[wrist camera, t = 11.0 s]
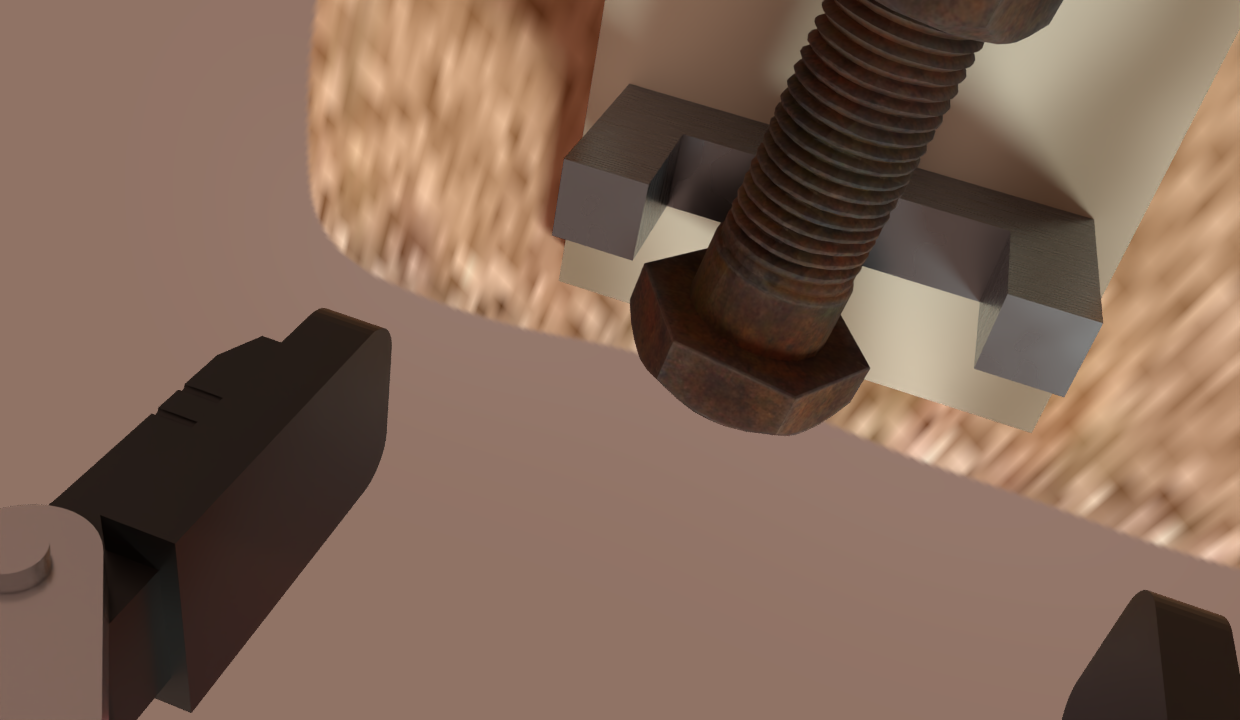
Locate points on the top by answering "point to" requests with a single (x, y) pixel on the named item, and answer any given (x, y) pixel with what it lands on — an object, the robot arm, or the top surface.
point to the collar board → (941, 148)
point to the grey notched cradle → (907, 246)
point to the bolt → (813, 214)
